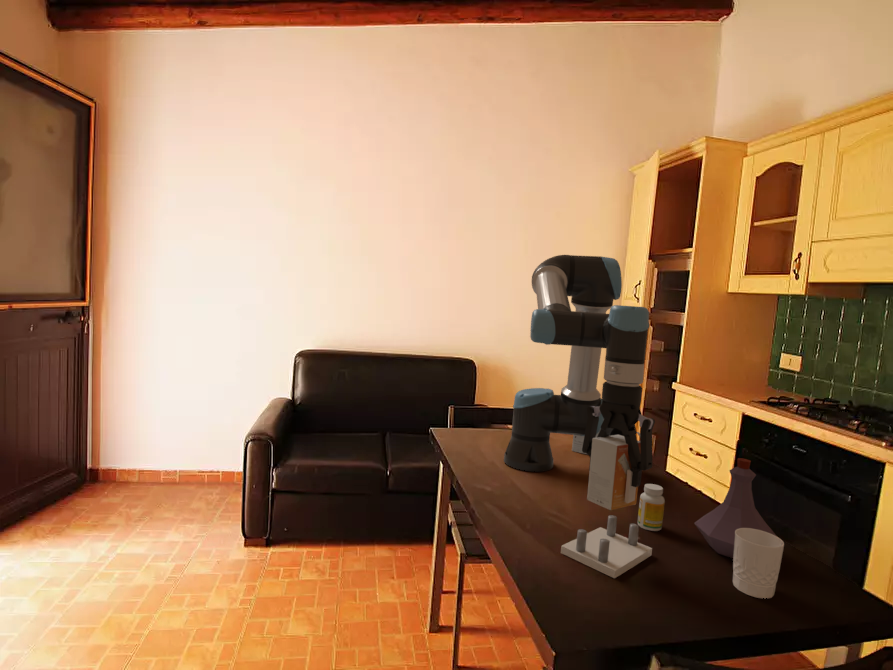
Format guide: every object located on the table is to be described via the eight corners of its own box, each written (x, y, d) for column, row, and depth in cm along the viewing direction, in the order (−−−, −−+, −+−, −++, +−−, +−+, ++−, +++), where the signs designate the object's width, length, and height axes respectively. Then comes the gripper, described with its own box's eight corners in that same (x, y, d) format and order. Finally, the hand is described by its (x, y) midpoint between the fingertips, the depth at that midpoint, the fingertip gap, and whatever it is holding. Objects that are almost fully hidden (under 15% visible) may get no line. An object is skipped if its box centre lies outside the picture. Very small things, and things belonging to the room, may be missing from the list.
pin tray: (560, 552, 109) (563, 526, 108) (599, 533, 119) (602, 509, 118) (614, 578, 100) (617, 550, 100) (651, 555, 110) (654, 529, 110)
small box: (611, 511, 103) (617, 445, 103) (586, 500, 109) (591, 437, 108) (637, 504, 108) (643, 441, 107) (612, 494, 113) (617, 433, 112)
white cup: (720, 577, 103) (726, 527, 102) (758, 577, 104) (764, 528, 103) (746, 600, 95) (752, 546, 95) (787, 601, 96) (794, 547, 95)
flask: (741, 575, 104) (753, 476, 103) (675, 538, 119) (684, 450, 118) (796, 563, 111) (808, 469, 109) (727, 529, 126) (736, 446, 124)
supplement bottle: (632, 523, 126) (636, 483, 125) (648, 520, 128) (652, 481, 127) (650, 533, 121) (654, 492, 120) (667, 529, 123) (671, 489, 123)
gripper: (569, 376, 111) (560, 484, 113) (662, 393, 97) (650, 516, 99) (589, 374, 116) (580, 477, 118) (680, 390, 102) (668, 507, 104)
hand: (612, 495), depth 108 cm, fingers closed on small box, 7 cm apart
